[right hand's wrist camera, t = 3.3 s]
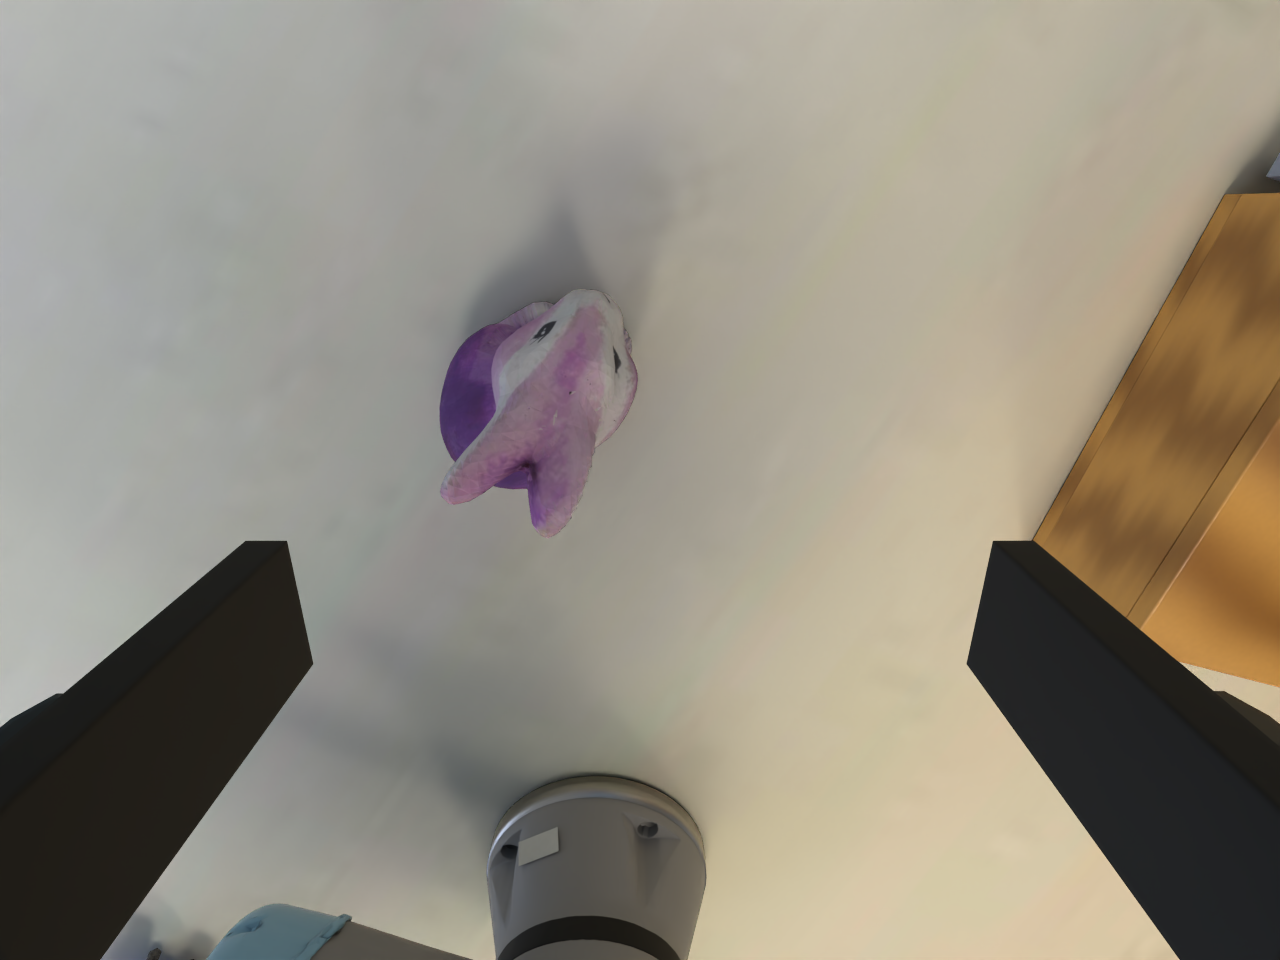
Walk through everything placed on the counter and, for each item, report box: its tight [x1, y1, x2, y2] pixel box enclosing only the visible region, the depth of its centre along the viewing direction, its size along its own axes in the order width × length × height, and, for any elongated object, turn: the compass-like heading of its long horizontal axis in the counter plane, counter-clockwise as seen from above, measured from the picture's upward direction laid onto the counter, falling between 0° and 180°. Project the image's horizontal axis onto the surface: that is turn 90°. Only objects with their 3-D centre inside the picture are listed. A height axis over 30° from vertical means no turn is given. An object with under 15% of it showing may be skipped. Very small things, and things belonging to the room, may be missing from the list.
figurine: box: [440, 289, 638, 538], centre depth 29 cm, size 9×10×15 cm
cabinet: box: [1033, 193, 1280, 687], centre depth 32 cm, size 20×11×9 cm, turn 164°
